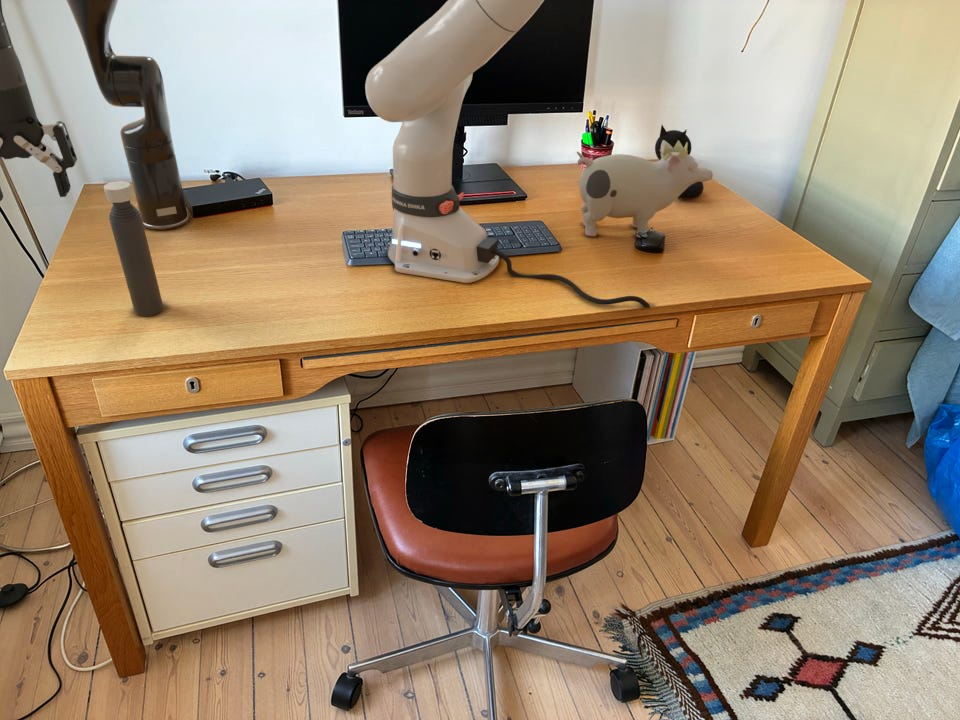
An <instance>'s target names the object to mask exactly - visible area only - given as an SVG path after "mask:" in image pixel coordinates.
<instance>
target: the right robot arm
mask: <svg viewBox="0 0 960 720" xmlns="http://www.w3.org/2000/svg"><path fill="white" fill-rule="evenodd" d="M544 1H545V0H447V1H446V2H445V3H444V4H443V5H442V6H441V7H440V8H439V10H437V11H436V12H435V13H434V14H433V15H432V16H431V17H429V18H428V19H427V20H426V21H424V22H423V23H422V24H421V25H420V26H418V27H417V29H415V30H414V31H413V32H412V33H411V34H409V35H408V37H406V38H405V39H404V40H403V41H401V42H400V43H399V45H397V46H396V47H395V48H394V49H393V50H392V51H390V53H389V54H388V55H386V57H383V59H382V60H380V61H379V62H377V64H375V65H374V66H373V67H372V68H371V69H370V70H369V72H368V74H367V76H366V79H365V84H364V86H365V87H364V89H365V96H366V100H367V103H368V105H369V107H370V108H371V110H372V111H373V113H374V114H375V115H376V116H377V117H379V118H380V119H381V120H383V121H386V122H388V123H401V124H400V128H399V130H398V133H397V135H396V137H395V138H394V140H393V144H392V173H393V174H392V177H393V184H392V185H391V206H392V207H391V208H392V211H393V219H392V220H393V221H392V223H393V224H392V231H391V238H390V243H389V247H388V250H387V257H388V259H389V260H390V261H391V263H393V265H394V270H395V271H396V272H397V273H401V274H408V275H413V276H419V277H426V278H431V279H438V280H445V281H451V282H457V283H462V284H463V283H464V284H470V283H474V282H477V281H479V280H482V279H484V278H485V277H487V276H488V275H490V274H491V273H492V272H493V271H494V270H495V269H496V268H497V267H498V265H499V264H500V258H501V260H503V261H504V262H505V263H506V270H507V273H508V274H509V275H511V276H512V277H514V278H521V279H522V278H525V279H538V280H554V281H559V282H561V283H562V284H563V283H564V284H565V285H567V286H569V287H570V288H571V289H572V290H573V291H574V292H575V293H576V294H578V296H580V297H582V299H584V300H586V301H587V302H591V303H593V304H597V305H602V306H603V305H604V306H608V305H615V304H619V303H626V302H635V303H639V304H640V305H642V306H643V307H644V308H651V305H650V304H649V303H648V301H646V300H645V299H644V298H642V297H641V296H636V295H625V296H619V297H614V298H606V299H605V298H597V297H594V296H592V295H589V294H588V293H586V292H585V291H584V290H582V289H581V288H580V287H579V286H578V285H576V283H574V282H573V281H572V280H570V279H568V278H566V277H564V276H561V275H557V274H552V273H539V274H522V273H519V272H518V271H515V270H514V269H513V267H512V265H513V263H512V260H511V258H510V257H509V256H508V255H506V254H505V253H504V252H502V251H500V250H498V248H499V239H496V238H492V237H488V235H487V232H486V229H484V228H483V226H481V224H479V223H478V221H476V220H475V219H474V218H472V217H471V216H470V214H468V212H466V211H465V210H464V209H463V208H462V207H461V204H460V201H461V200H463V199H464V191H462V192H461V193H459V194H457V192H456V190H455V188H454V185H453V184H452V182H453V181H452V180H453V179H452V178H453V149H454V143H455V142H454V141H455V136H456V132H457V128H458V122H459V118H460V115H461V114H460V113H461V110H462V105H463V102H464V98H465V95H466V93H467V91H468V89H469V87H470V86H471V83H472V81H473V74H474V73H475V72H476V71H477V70H479V69H481V67H483V66H484V65H485V64H486V63H488V61H490V59H492V58H493V57H494V55H496V54H497V53H498V52H499V51H500V49H502V48H503V47H504V45H506V44H507V43H508V41H510V40H511V39H512V38H513V37H514V36H515V35H516V34H517V33H518V32H519V31H520V30H521V28H523V27H524V25H526V23H527V22H528V21H529V20H530V19H531V18H532V17H533V15H534V14H535V13H536V12H537V11H538V9H539V8H540V7H541V5H542V4H543V3H544Z"/></svg>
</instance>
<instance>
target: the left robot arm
mask: <svg viewBox="0 0 960 720" xmlns="http://www.w3.org/2000/svg"><path fill="white" fill-rule="evenodd" d="M118 2H119V0H66V3H67V4H68V7H69V9H70V12H71V14H72V16H73V19H74V21H75V23H76V26H77V28H78V31H79V33H80V37H81V38H82V42H83V45H84V48H85V51H86V54H87V57H88V60H89V63H90V66H91V69H92V73H93V76H94V78H95V80H96V84H97V86H98V89H99V90H100V93H101V95H102V97H103V98H104V100H105V101H106V102H107V103H108V104H109V105H111V106H113V107H118V108H143V112H144V116H143V117H141V118H140V119H138V120H135V121H132V122H130V123H127V124H125V125H124V126H122V127H121V129H120V133H119V135H120V138H121V143H122V146H123V151H124V155H125V158H126V159H125V160H126V163H127V166H128V170H129V174H130V178H131V183H132V187H133V191H134V195H135V199H136V203H137V207H138V211H139V213H140V214H141V218H142V222H143V226H144V228H146V229H149V230H158V231H161V230H162V231H164V230H172V229H176V228H179V227H181V226H184V225H185V224H187V223H188V222H189V220H190V217H189V213H188V209H187V204H186V199H185V195H184V189H183V185H182V181H181V176H180V172H179V171H180V170H179V166H178V161H177V157H176V153H175V147H174V143H173V137H172V133H171V132H172V131H171V123H170V116H169V111H168V104H167V97H166V91H165V83H164V79H163V75H162V71H161V69H160V65H159V64H158V62H157V61H156V60H155V58H154V57H151V56H147V55H145V56H144V55H117V54H115V52H114V50H113V48H112V45H111V40H110V30H111V23H112V20H113V17H114V15H115V12H116V8H117V6H118ZM45 135H48V136H49V137H50V139H51V141H55V142H56V143H57V146H58V148H59V151H60V154H61V157H62V158H60V156H58V155H57V154H56V153H55V152H53V150H52V148H50V146H48V145H47V144H46V143H45V142H44V141H42V140H43V138H44V136H45ZM30 157H34V159H36V160H38V161H39V162H40V163H44V165H46V166H47V167H48V168H49V169H50V170H52V171H53V172H52V176H53V179H54V182H55V185H56V189H57V192H58V195H59V197H60V198H66V197H67V195H68V193H70V190H71V187H72V186H71V182H70V179H69V176H68V173H67V169H69V168H71V169H72V168H73V167H74V166H75V165H76V163H77V161H78V157H77V154H76V152H75V148H74V146H73V143H72V140H71V137H70V134H69V131H68V129H67V126H66V124H65V122H63V121H62V120H58V121H56V122H55V123H53V124H42V123H41V121H39V119H38V115H37V112H36V109H35V106H34V103H33V100H32V96H31V93H30V90H29V87H28V83H27V81H26V76H25V73H24V70H23V66H22V63H21V61H20V59H19V57H18V54H17V52H16V49H15V47H14V45H13V42H12V39H11V36H10V32H9V29H8V26H7V22H6V19H5V16H4V12H3V5H2V0H0V158H3V160H11V159H15V158H19V159H30ZM3 199H4V193H3V191H2V188H1V186H0V202H2V200H3Z"/></svg>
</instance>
